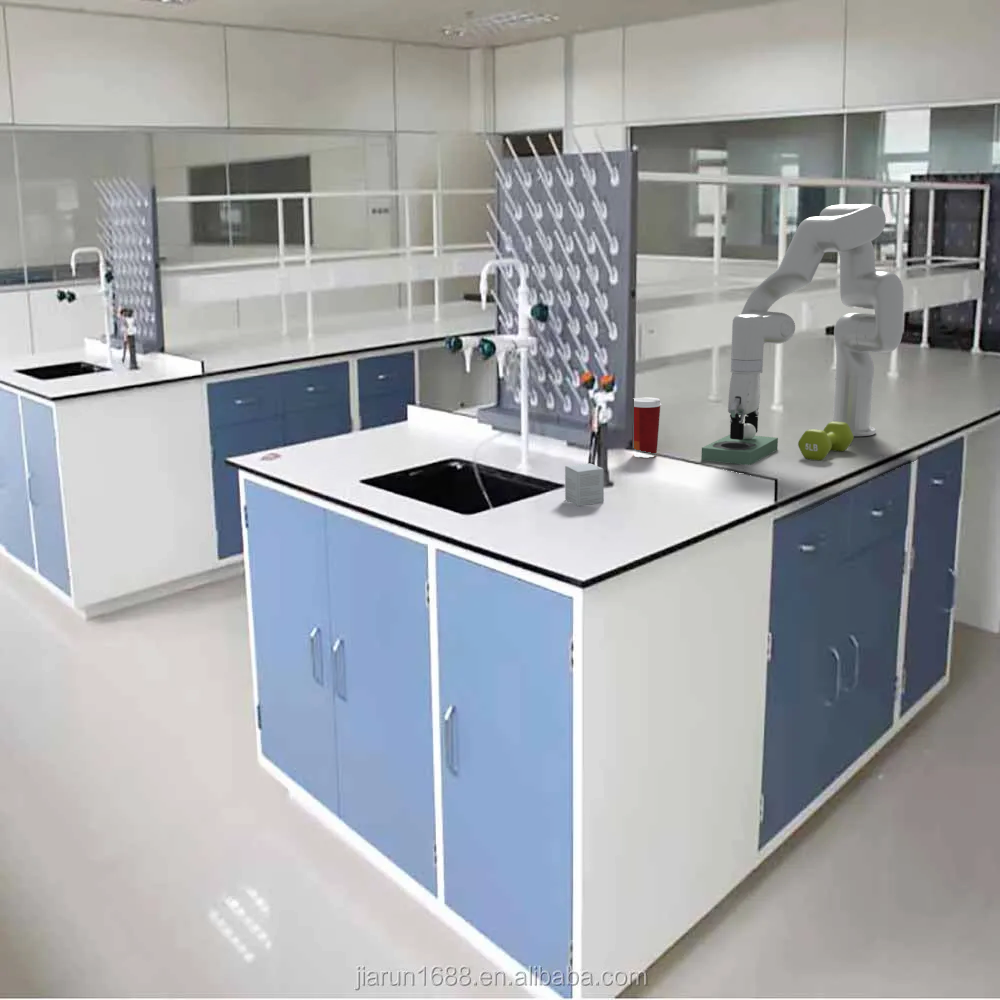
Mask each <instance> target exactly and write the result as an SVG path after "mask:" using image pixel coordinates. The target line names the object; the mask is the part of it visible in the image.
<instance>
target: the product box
mask: <svg viewBox="0 0 1000 1000" xmlns="http://www.w3.org/2000/svg"><path fill="white" fill-rule="evenodd" d="M564 470H565V471H564V472H565V474H564V479H565V480H564V481H565V483H564V484H565V485H564V487H565V489H564V490H565V491H564V492H565V495H564V496H565V501H567V502H569V503H571V504H572V505H575V506H576V507H581V506H582V507H583V506H588V505H595V504H603V503H604V501H605V500H604V499H605V498H604V496H605V493H604V489H605V487H604V486H605V485H604V484H605V483H604V481H605V480H604V471H605V469H604V468H603V467H600V466H598V465H596V464H592V463H589V462H588V463H581V464H574V465H565V466H564Z"/></svg>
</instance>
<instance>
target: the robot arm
mask: <svg viewBox="0 0 1000 1000" xmlns="http://www.w3.org/2000/svg"><path fill="white" fill-rule="evenodd" d="M886 218H887V217H886V213H885V211H884V209H882V207H881V206H879V205H876V204H872V203H861V204H859V203H858V204H857V203H855V204H853V203H852V204H850V203H848V204H847V203H846V204H834V205H830V206H826V207H825V208H823V209H822V210H821V211H820V213H819V216H810V217H808V218H805V219H804V220H802V221H801V222H800V223H799V225H798V227H797V229H796V230H795V233H794V235H793V237H792V239H791V240H790V241H791V242H790V243H789V245H788V247H787V250H786V252H785V254H784V255H783V258H782V260H781V262H780V264H779V267H778V268H777V269H776V270H775V271H774V272H773V273H771V274H770V275H769V276H767V278H766V279H764V280H763V281H762V282H761V283H760V284H759V285H758V286H756V288H754V290H753V291H752V292H751V294H750V295H749V296H748V298H747V300H746V302H745V303H744V306H743V308H742V311H741V313H740V314H737V315H735V316H734V317H733V318H732V328H731V334H732V335H731V358H730V359H731V360H730V373H731V375H730V383H729V389H728V390H729V391H728V400H727V401H728V402H727V412H728V413H729V418H730V419H729V420H730V421H729V423H730V425H729V426H730V431H729V433H730V434H729V435H730V438H731V439H736V440H742V439H743V437H744V424H746V423H749V424H752V425H753V426H754V427H755V429H756V434H757V433H758V428H759V408H760V401H761V374H762V373H763V371H764V369H763V367H764V345H765V344H774V345H775V344H776V345H777V344H778V345H779V344H784V343H786V342H788V341H789V340H791V338H792V337H793V336H794V334H795V331H796V324H795V321H794V318H793V317H791V316H790V315H789V314H786V313H784V312H778V311H769V309H770V308H771V307H772V306H773V305H774V304H775V303H776V302H778V301H779V300H780V299H782V298H783V297H786V296H788V295H790V294H792V293H795V292H797V291H799V290H802V289H803V288H805V287H807V286H809V285H810V283H811V282H812V281H813V278H814V276H815V274H816V272H817V269H818V268H819V266H820V263H821V261H822V259H823V257H824V255H825V253H838V254H839V255H838V257H839V279H840V280H839V290H840V291H839V293H840V300H841V302H842V304H843V305H844V306H846V307H849V308H852V309H862V310H863V309H864V310H874V313H866V312H865V313H864V312H848V313H845V314H843V315H842V316H841V317H839V318H838V319H837V321H836V322H835V324H834V329H833V337H834V344H835V353H836V354H835V355H836V357H835V358H836V361H835V362H836V364H835V380H834V395H833V410H832V413H833V414H832V421H837V422H844V423H847V424H848V425H849V427H850V429H851V431H852V433H853V437H867V436H868V437H869V436H873V435H875V434H876V431H877V429H876V428H875V427H873V426H871V416H872V415H871V414H872V404H873V401H872V399H873V388H874V387H873V386H874V385H873V384H874V371H875V367H874V361H873V358H872V355H871V354H870V352H872V353H873V352H874V353H890V352H891V353H892V352H893V351H895V350H896V349H897V348H898V347H899V346H900V344H901V341H902V338H903V334H904V332H903V331H904V287H903V283H902V281H901V278H900V277H899V275H898V274H895V273H893V272H891V271H879V270H878V271H877V270H876V256H875V254H876V253H875V248H874V245H873V242H872V241H874V240H875V239H877V238H878V237H879V236H880V235H881V234H882V232H883V231H884V229H885V227H886V223H887V222H886V220H887V219H886Z"/></svg>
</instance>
